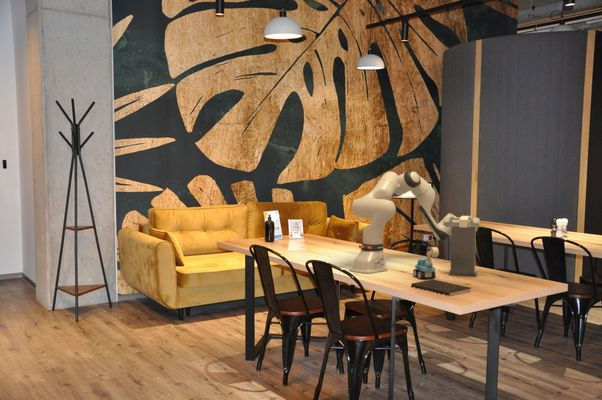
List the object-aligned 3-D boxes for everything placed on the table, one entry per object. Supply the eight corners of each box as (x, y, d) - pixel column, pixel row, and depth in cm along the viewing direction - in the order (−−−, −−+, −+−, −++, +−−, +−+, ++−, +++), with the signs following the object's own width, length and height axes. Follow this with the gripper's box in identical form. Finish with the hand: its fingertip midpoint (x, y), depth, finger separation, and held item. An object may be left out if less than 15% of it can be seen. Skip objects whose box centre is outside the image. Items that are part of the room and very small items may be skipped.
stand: (476, 277, 315) (477, 227, 313) (448, 275, 319) (449, 226, 317) (476, 273, 324) (478, 225, 322) (449, 271, 329) (450, 224, 327)
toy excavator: (427, 282, 301) (427, 248, 300) (411, 276, 317) (412, 243, 316) (442, 281, 304) (443, 247, 302) (426, 275, 320) (427, 242, 318)
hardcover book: (432, 283, 301) (433, 279, 300) (471, 292, 282) (471, 287, 282) (410, 288, 291) (410, 283, 291) (449, 297, 273) (449, 292, 272)
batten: (467, 227, 312) (467, 219, 312) (459, 227, 313) (459, 219, 313) (468, 223, 331) (469, 216, 331) (461, 223, 332) (461, 215, 332)
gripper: (443, 220, 359) (442, 211, 347) (479, 221, 353) (479, 212, 341) (443, 230, 356) (441, 221, 344) (479, 231, 350) (479, 222, 338)
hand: (460, 216), depth 342 cm, fingers open, 8 cm apart
